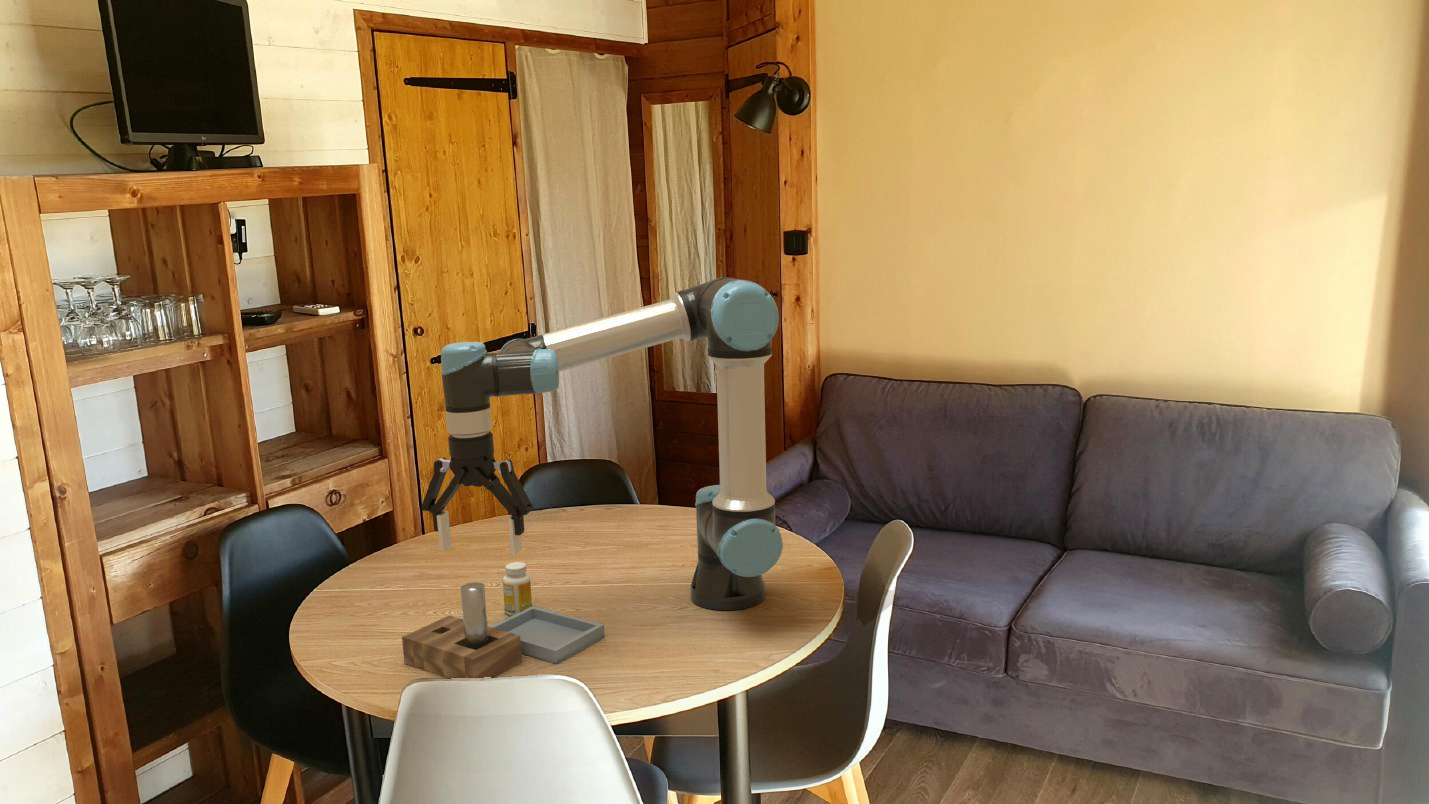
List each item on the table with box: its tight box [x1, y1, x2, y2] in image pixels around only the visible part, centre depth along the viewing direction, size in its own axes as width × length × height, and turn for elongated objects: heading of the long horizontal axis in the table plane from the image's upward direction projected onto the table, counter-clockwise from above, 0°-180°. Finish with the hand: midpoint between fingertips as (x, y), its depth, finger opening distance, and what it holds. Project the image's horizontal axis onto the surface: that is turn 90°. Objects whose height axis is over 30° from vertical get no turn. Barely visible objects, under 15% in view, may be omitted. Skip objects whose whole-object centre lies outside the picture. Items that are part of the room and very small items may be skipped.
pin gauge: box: [460, 581, 489, 650], centre depth 180 cm, size 4×4×15 cm
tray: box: [489, 605, 606, 665], centre depth 192 cm, size 18×13×2 cm
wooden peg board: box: [401, 614, 523, 679], centre depth 183 cm, size 18×11×5 cm, turn 56°
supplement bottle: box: [502, 561, 533, 617], centre depth 205 cm, size 5×5×10 cm
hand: (480, 550), depth 182 cm, fingers open, 13 cm apart
